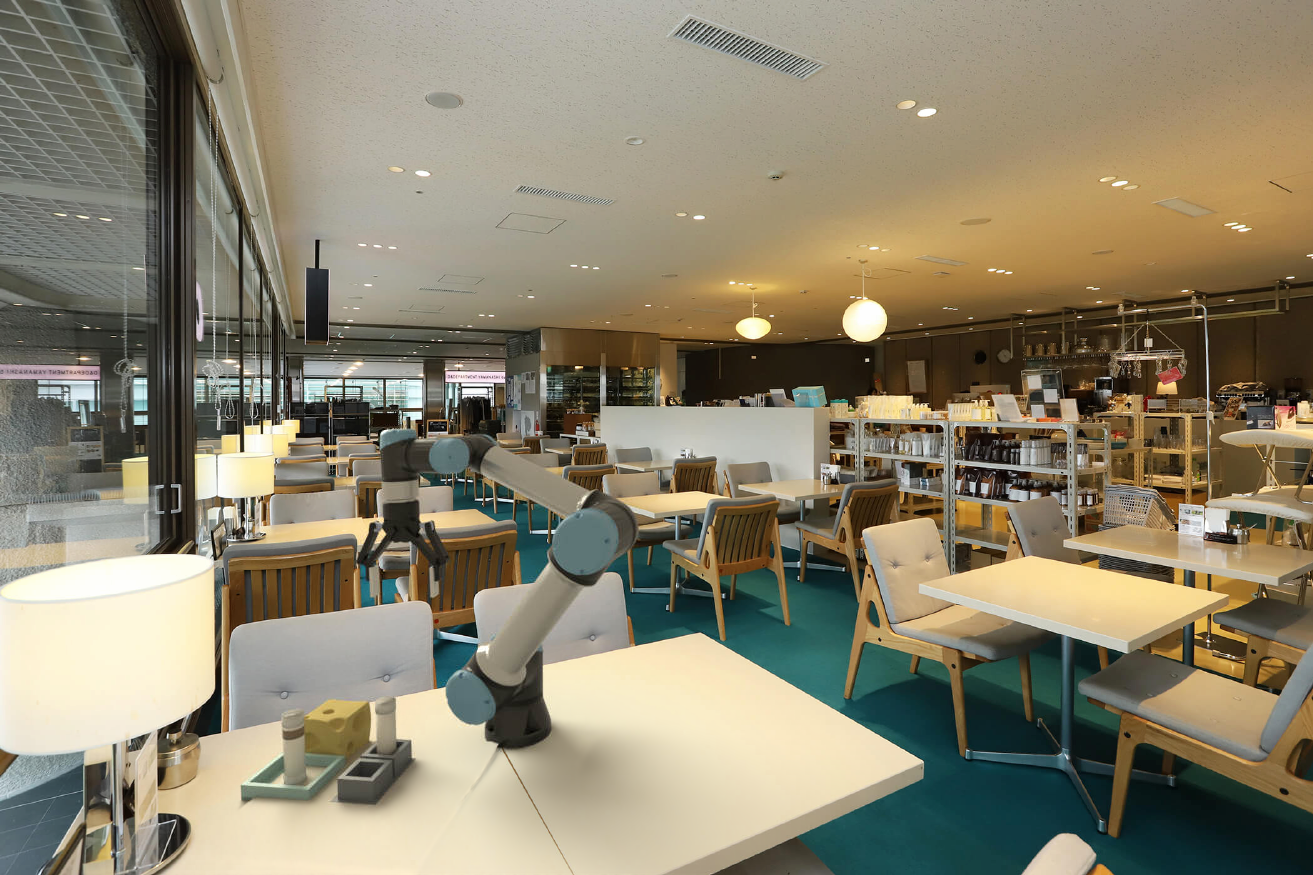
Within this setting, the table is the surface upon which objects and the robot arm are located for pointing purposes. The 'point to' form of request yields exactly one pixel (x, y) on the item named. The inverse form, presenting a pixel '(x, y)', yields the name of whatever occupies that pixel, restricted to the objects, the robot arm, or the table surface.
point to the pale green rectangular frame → (271, 771)
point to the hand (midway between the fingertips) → (404, 595)
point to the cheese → (337, 727)
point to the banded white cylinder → (294, 746)
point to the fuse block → (376, 761)
